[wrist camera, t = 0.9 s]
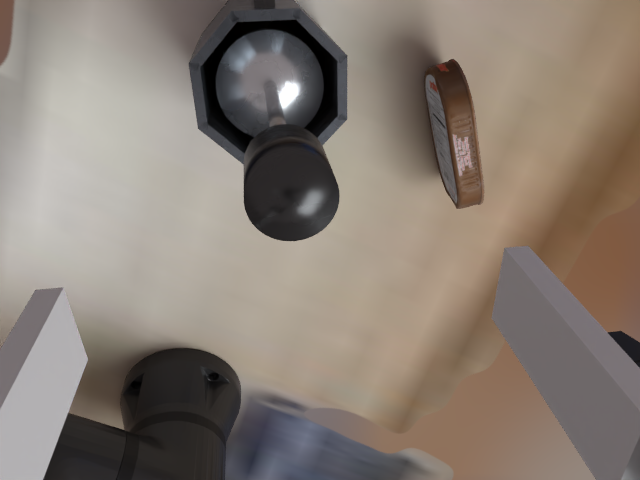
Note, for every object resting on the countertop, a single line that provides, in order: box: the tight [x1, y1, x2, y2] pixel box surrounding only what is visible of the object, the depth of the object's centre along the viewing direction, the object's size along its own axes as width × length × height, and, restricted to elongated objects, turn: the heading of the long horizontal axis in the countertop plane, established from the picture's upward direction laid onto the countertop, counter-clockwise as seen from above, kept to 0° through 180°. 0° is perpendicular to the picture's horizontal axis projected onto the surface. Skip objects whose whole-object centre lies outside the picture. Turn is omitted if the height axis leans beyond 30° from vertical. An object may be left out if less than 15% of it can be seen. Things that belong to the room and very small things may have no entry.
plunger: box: [216, 29, 339, 241], centre depth 30 cm, size 8×8×20 cm
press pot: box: [189, 0, 347, 164], centre depth 43 cm, size 14×11×14 cm
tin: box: [424, 59, 484, 209], centre depth 51 cm, size 15×3×8 cm, turn 16°
